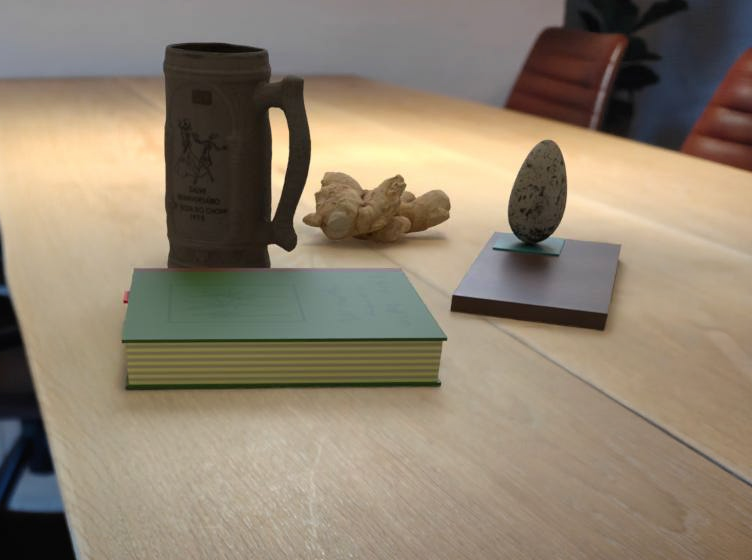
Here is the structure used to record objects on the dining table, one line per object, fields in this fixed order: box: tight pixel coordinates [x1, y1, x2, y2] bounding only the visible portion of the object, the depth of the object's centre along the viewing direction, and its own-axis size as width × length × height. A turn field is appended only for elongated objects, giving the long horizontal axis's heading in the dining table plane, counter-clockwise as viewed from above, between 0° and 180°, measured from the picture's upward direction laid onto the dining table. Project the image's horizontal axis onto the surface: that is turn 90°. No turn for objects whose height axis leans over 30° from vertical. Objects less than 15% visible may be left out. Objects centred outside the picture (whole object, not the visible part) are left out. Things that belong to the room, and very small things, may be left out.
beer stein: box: [162, 41, 312, 268], centre depth 88 cm, size 15×11×20 cm
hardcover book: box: [121, 267, 448, 390], centre depth 76 cm, size 25×19×4 cm
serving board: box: [449, 231, 622, 331], centre depth 93 cm, size 26×14×2 cm, turn 160°
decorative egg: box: [507, 139, 568, 244], centre depth 96 cm, size 6×6×10 cm
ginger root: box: [301, 171, 452, 244], centre depth 105 cm, size 16×16×8 cm
